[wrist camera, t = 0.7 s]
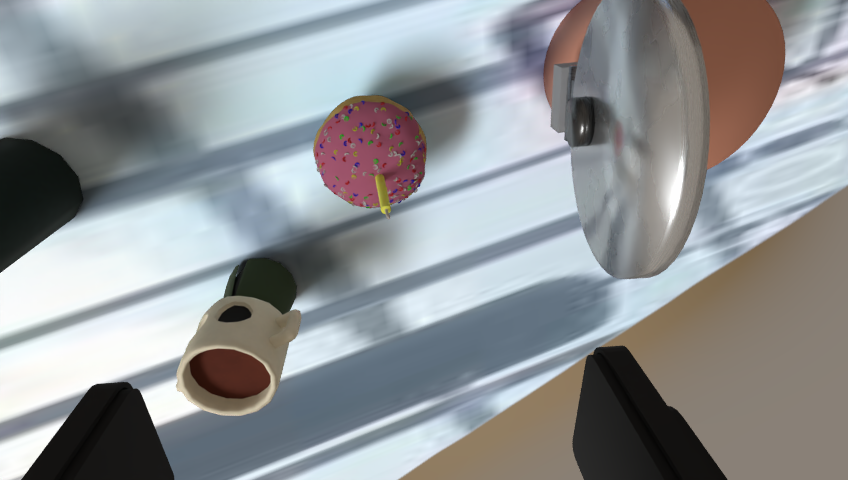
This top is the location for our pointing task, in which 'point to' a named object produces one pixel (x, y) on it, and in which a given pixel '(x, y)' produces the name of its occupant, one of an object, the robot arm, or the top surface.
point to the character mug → (242, 342)
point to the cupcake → (371, 152)
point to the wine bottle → (33, 196)
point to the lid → (638, 134)
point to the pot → (724, 60)
